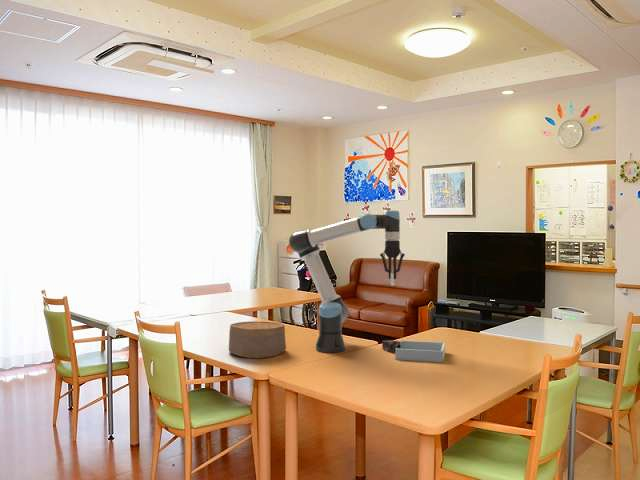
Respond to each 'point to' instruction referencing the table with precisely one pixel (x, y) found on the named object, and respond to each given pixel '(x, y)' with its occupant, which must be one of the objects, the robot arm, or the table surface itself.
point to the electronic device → (390, 345)
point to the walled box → (420, 351)
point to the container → (257, 339)
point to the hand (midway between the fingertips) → (392, 285)
